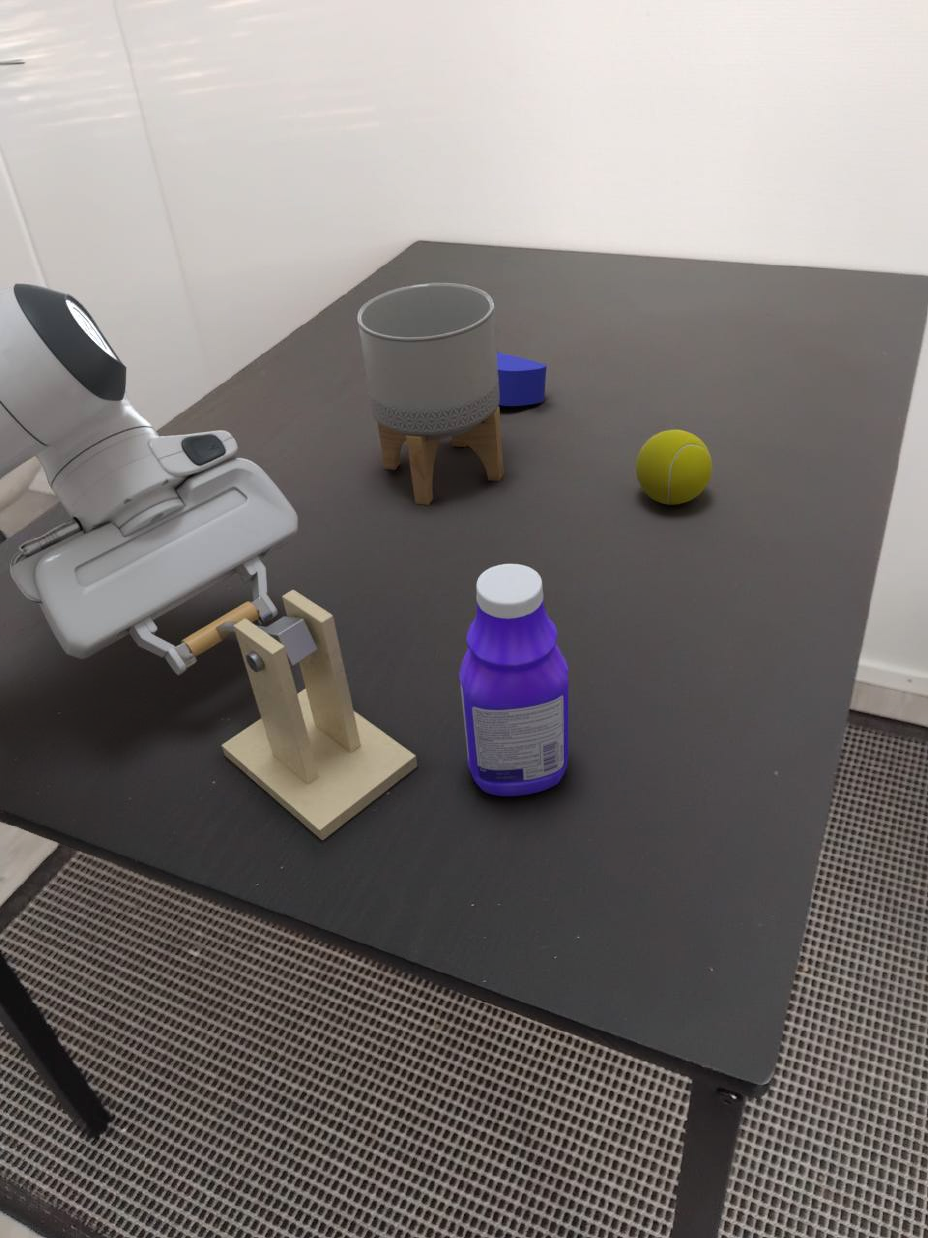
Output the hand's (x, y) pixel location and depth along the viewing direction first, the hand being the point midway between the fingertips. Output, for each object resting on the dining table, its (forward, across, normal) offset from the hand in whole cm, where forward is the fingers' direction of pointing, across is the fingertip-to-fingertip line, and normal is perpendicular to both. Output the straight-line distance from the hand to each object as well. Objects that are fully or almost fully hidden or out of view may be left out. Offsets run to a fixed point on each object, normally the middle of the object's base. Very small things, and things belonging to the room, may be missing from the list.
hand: (230, 643), depth 74 cm
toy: (-10, +50, +19) cm, 54 cm away
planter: (-5, +34, +14) cm, 37 cm away
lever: (+2, 0, -5) cm, 6 cm away
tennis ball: (+11, +45, -1) cm, 46 cm away
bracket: (+11, 0, -2) cm, 11 cm away
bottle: (+20, +9, -10) cm, 24 cm away
